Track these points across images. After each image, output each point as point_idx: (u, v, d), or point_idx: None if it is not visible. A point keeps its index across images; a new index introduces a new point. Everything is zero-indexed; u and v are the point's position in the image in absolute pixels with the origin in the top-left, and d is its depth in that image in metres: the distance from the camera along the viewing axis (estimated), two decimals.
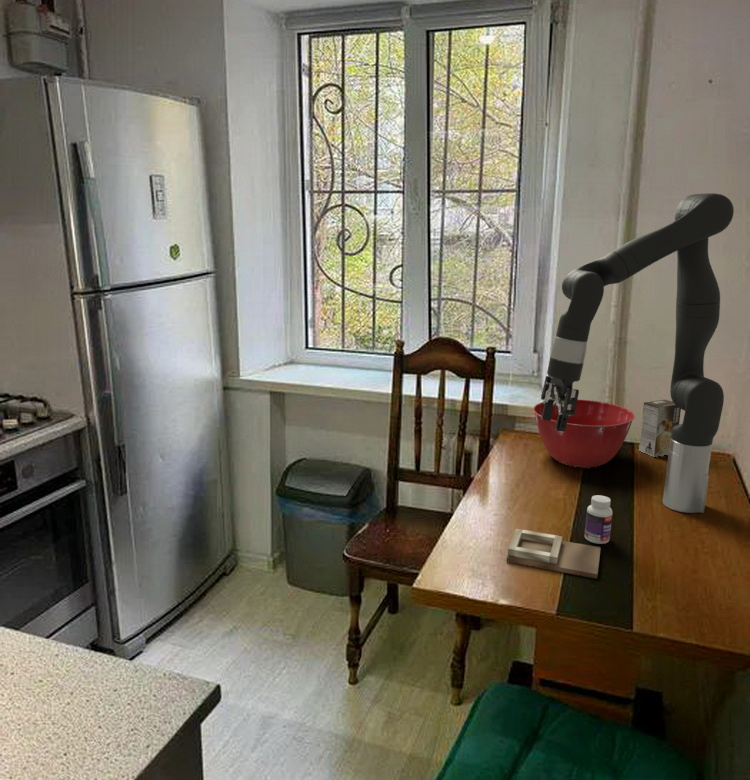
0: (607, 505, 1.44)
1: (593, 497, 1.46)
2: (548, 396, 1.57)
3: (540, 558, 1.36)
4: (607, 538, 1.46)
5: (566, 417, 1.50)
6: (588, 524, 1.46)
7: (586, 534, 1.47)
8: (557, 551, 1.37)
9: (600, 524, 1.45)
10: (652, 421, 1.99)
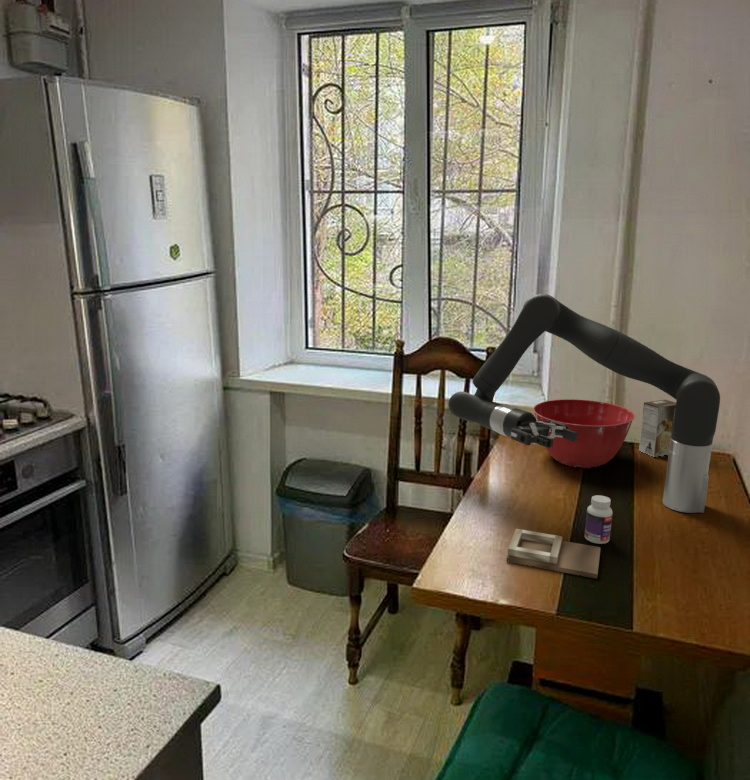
0: (607, 505, 1.44)
1: (593, 497, 1.46)
2: (550, 437, 1.59)
3: (540, 558, 1.36)
4: (607, 538, 1.46)
5: (537, 438, 1.52)
6: (588, 524, 1.46)
7: (586, 534, 1.47)
8: (557, 551, 1.37)
9: (600, 524, 1.45)
10: (652, 421, 1.99)
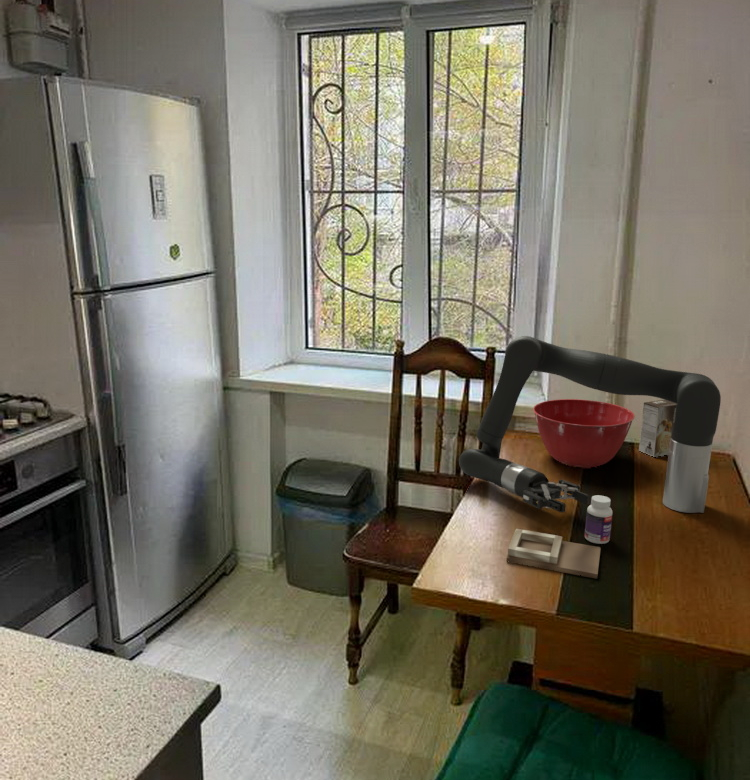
0: (607, 505, 1.44)
1: (593, 497, 1.46)
2: (562, 498, 1.59)
3: (540, 558, 1.36)
4: (607, 538, 1.46)
5: (549, 503, 1.52)
6: (588, 524, 1.46)
7: (586, 534, 1.47)
8: (557, 551, 1.37)
9: (600, 524, 1.45)
10: (652, 421, 1.99)
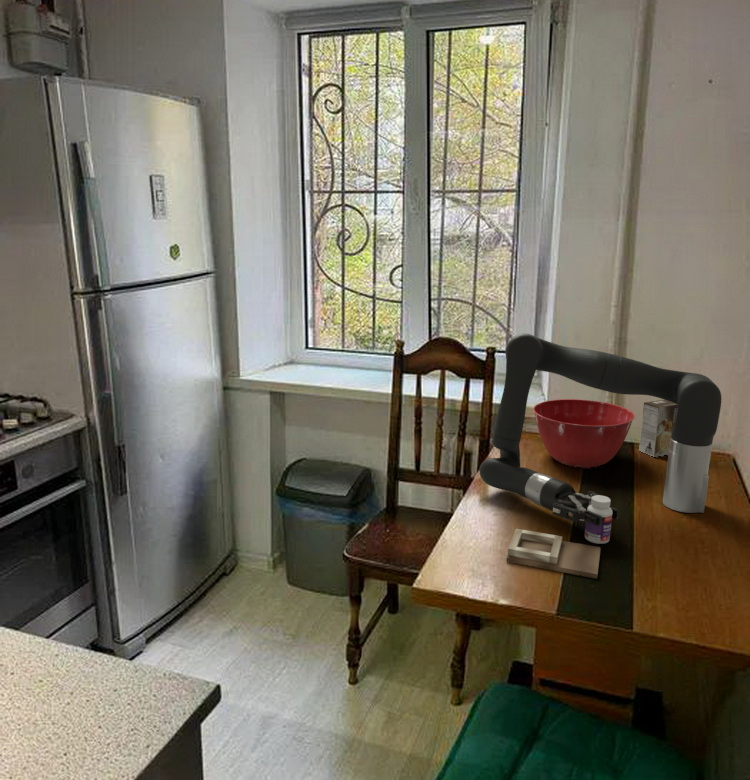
0: (607, 505, 1.44)
1: (593, 497, 1.46)
2: None
3: (540, 558, 1.36)
4: (607, 538, 1.46)
5: (584, 515, 1.45)
6: (588, 524, 1.46)
7: (586, 534, 1.47)
8: (557, 551, 1.37)
9: None
10: (652, 421, 1.99)
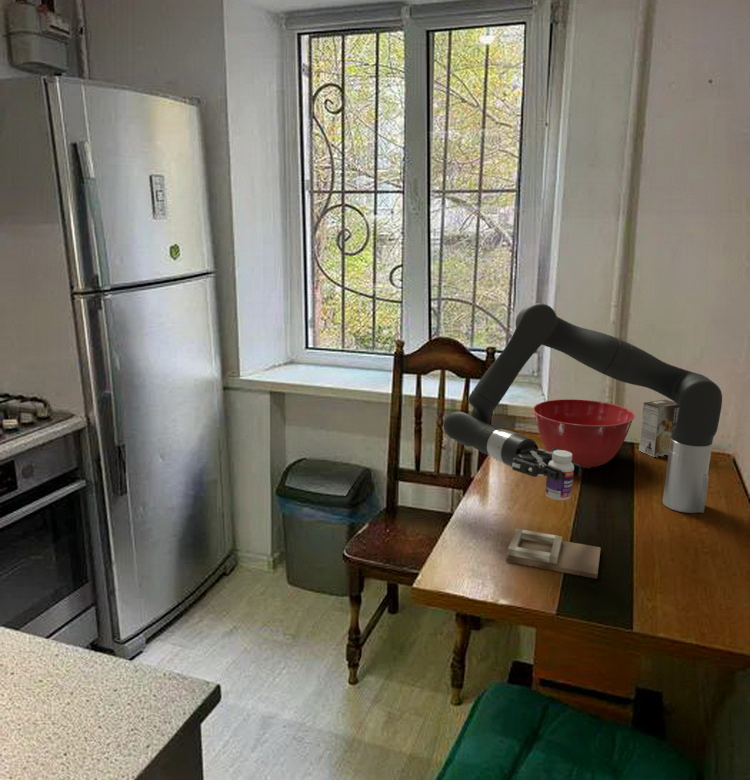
0: (568, 459, 1.37)
1: (554, 451, 1.40)
2: None
3: (540, 558, 1.36)
4: (568, 494, 1.39)
5: (544, 470, 1.38)
6: (549, 479, 1.40)
7: (546, 490, 1.41)
8: (557, 551, 1.37)
9: None
10: (652, 421, 1.99)
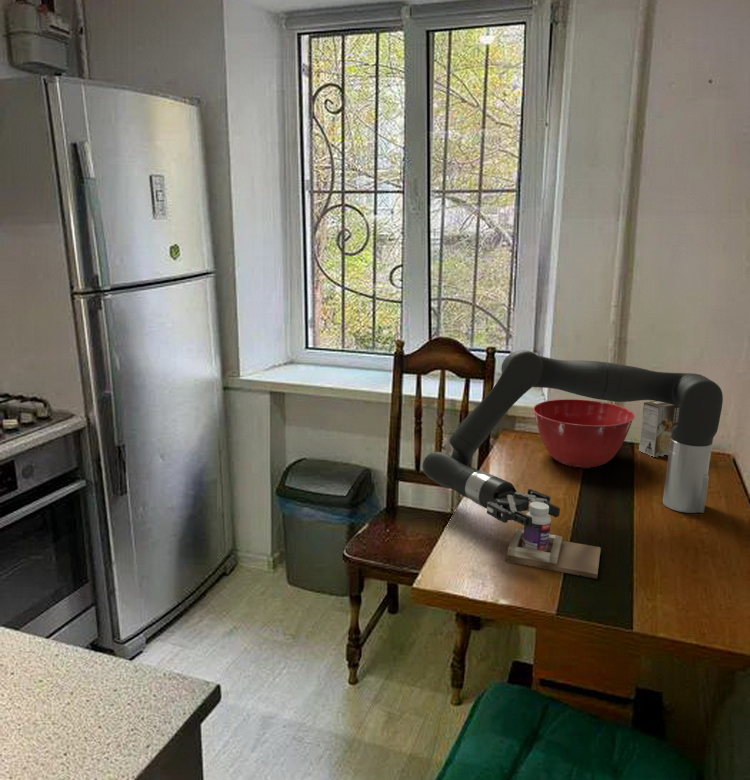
0: (545, 512, 1.38)
1: (531, 503, 1.40)
2: None
3: (540, 558, 1.36)
4: (544, 547, 1.39)
5: (514, 516, 1.38)
6: (525, 531, 1.40)
7: (523, 542, 1.41)
8: (557, 551, 1.37)
9: (537, 531, 1.38)
10: (652, 421, 1.99)
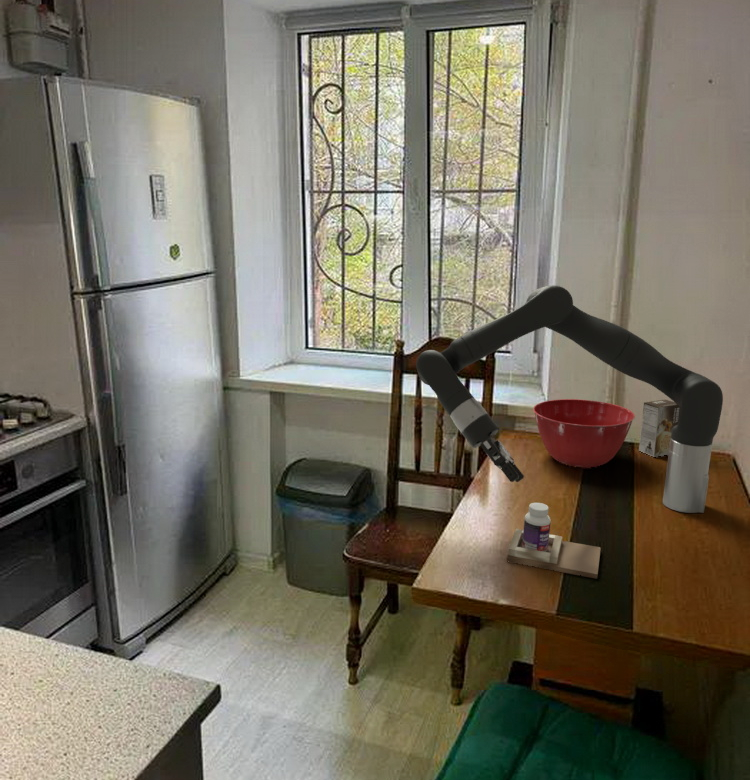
0: (544, 513, 1.37)
1: (531, 504, 1.40)
2: None
3: (540, 558, 1.36)
4: (544, 548, 1.39)
5: (506, 465, 1.43)
6: (525, 532, 1.40)
7: (523, 543, 1.41)
8: (557, 551, 1.37)
9: (536, 533, 1.38)
10: (652, 421, 1.99)
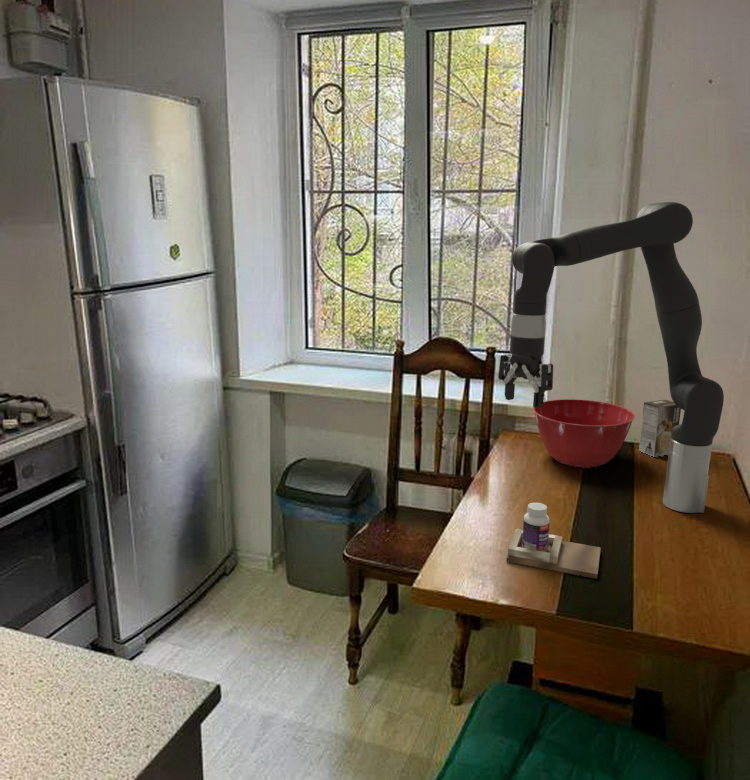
0: (543, 513, 1.37)
1: (529, 504, 1.40)
2: (512, 375, 1.52)
3: (540, 558, 1.36)
4: (544, 548, 1.39)
5: (543, 393, 1.47)
6: (524, 532, 1.40)
7: (523, 543, 1.41)
8: (557, 551, 1.37)
9: (535, 533, 1.38)
10: (652, 421, 1.99)
